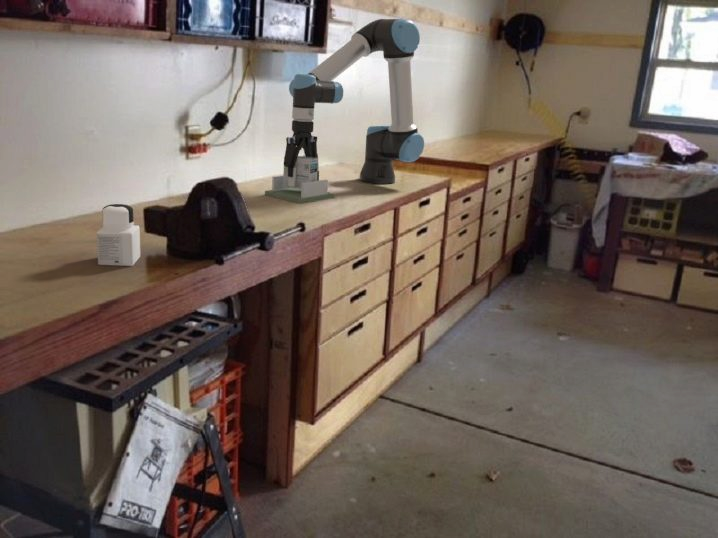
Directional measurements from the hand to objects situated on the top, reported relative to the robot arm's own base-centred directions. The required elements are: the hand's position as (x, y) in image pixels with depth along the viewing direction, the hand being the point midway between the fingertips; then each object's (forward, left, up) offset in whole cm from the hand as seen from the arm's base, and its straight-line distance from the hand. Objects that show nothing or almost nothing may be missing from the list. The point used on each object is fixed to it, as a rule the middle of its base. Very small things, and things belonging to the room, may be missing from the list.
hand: (299, 184), depth 241 cm
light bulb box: (0, 0, -1) cm, 1 cm away
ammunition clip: (-21, -14, -4) cm, 26 cm away
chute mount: (0, 0, -4) cm, 4 cm away
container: (+92, +28, -4) cm, 96 cm away
